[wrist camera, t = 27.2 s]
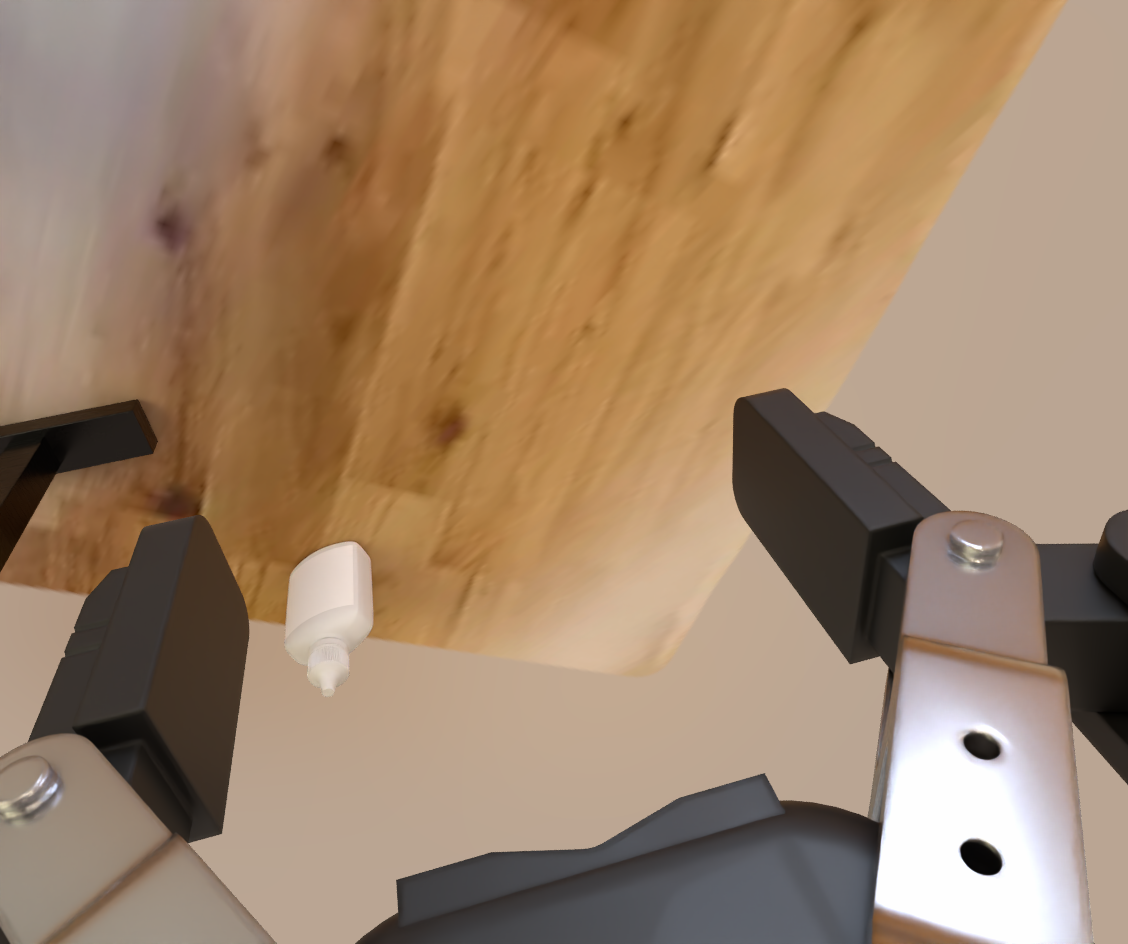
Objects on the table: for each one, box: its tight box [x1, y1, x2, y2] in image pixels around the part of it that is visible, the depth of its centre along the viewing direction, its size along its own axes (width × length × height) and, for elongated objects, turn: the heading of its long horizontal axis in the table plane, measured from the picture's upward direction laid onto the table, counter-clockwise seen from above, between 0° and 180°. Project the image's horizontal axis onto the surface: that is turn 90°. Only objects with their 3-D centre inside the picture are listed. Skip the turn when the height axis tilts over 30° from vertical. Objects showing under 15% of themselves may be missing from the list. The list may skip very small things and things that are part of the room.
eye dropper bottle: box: [284, 541, 373, 697], centre depth 51 cm, size 4×6×12 cm
